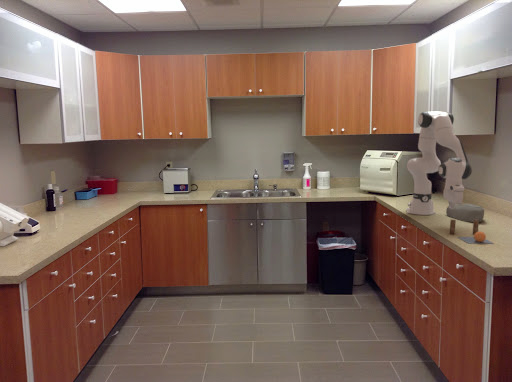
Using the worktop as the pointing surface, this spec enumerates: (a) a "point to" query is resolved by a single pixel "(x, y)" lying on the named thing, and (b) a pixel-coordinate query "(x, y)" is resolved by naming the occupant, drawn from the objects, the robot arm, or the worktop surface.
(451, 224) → the post
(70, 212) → the worktop surface
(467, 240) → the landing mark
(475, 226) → the post
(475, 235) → the ball
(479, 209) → the stone
